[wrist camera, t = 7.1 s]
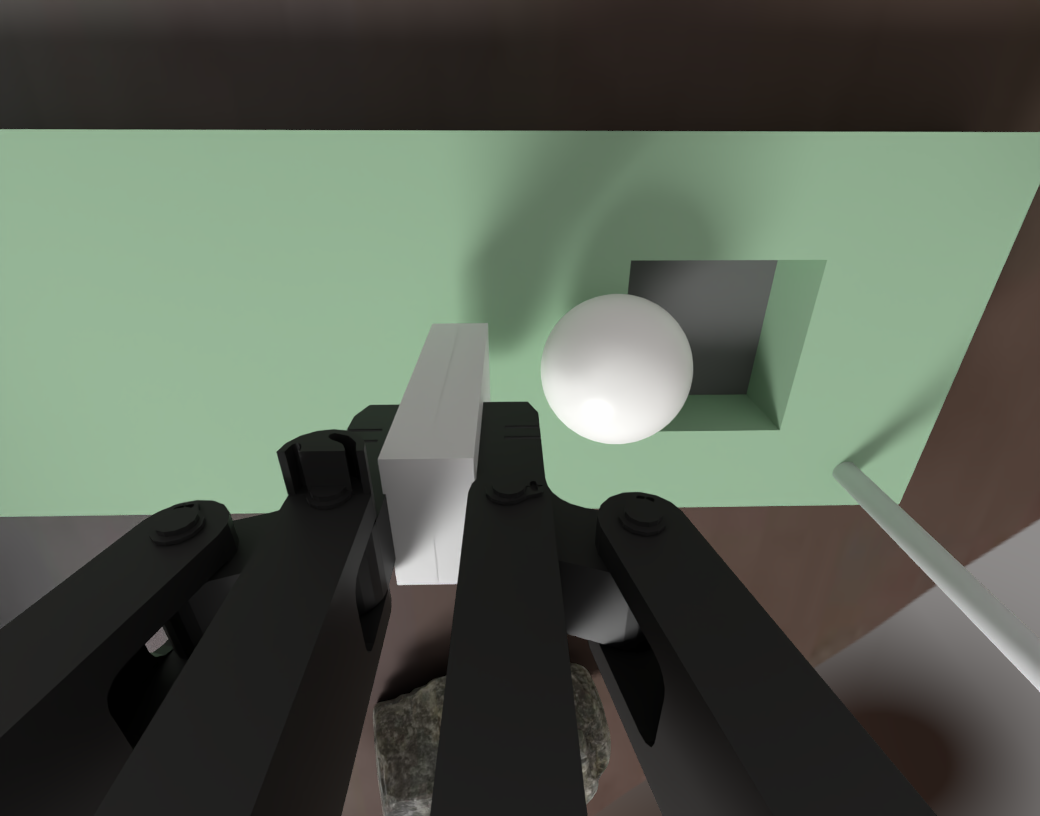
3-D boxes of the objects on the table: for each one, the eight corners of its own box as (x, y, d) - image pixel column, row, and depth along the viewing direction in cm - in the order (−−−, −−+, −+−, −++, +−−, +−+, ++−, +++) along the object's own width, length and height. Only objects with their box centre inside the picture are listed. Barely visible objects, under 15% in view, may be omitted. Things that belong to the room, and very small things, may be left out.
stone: (488, 553, 29) (596, 693, 21) (545, 610, 33) (653, 746, 25) (290, 741, 26) (324, 980, 18) (377, 777, 31) (437, 986, 23)
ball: (515, 420, 15) (592, 490, 12) (514, 288, 14) (605, 331, 10) (620, 393, 17) (712, 449, 14) (633, 272, 15) (741, 305, 12)
